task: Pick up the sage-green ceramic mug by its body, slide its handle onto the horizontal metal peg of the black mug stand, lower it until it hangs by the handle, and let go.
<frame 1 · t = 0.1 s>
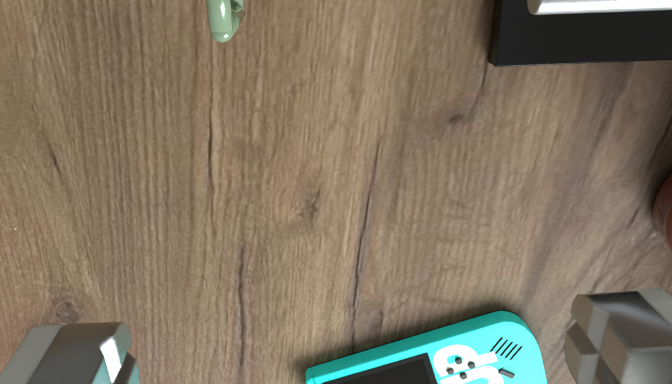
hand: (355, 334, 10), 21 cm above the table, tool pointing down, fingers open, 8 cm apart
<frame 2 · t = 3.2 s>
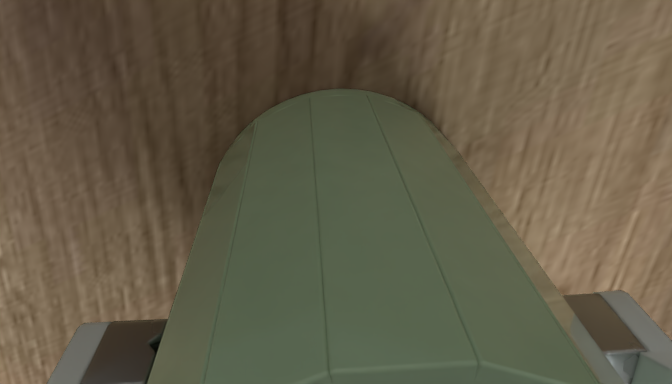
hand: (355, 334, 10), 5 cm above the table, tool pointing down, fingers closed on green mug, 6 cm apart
green mug: (339, 212, 14), on the table, touching gripper
when the fingers open (13 cm above the table, at t = 10.5 s): green mug drops 1 cm and tips over, resting on mug stand.
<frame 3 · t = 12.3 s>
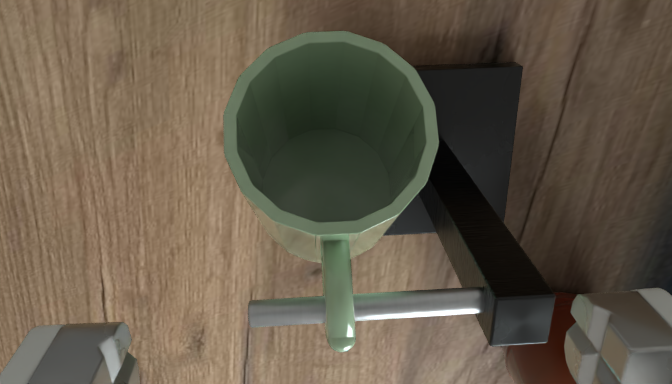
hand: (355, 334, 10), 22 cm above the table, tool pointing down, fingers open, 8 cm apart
mug stand: (422, 150, 32), on the table
green mug: (326, 192, 25), point 7 cm above the table, tilted 38°, touching mug stand
mug: (549, 341, 39), on the table
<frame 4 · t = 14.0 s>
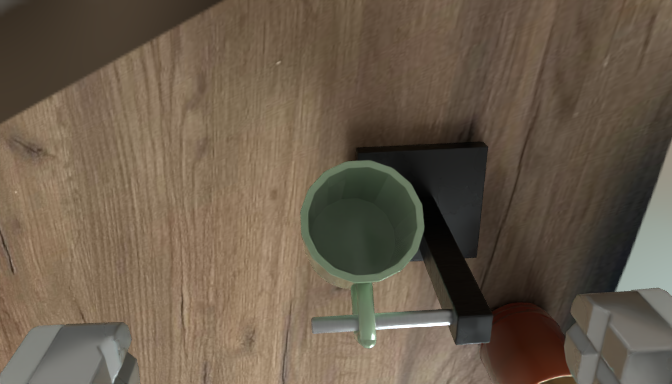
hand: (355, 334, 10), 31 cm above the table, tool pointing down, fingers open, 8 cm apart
mug stand: (417, 201, 44), on the table
green mug: (352, 241, 38), point 7 cm above the table, tilted 38°, touching mug stand
mug: (514, 338, 52), on the table
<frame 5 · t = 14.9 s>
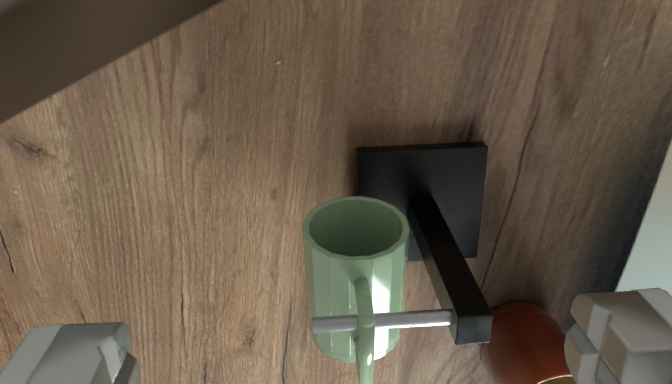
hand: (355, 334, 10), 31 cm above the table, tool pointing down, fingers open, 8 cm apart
mug stand: (417, 201, 44), on the table
green mug: (355, 325, 39), point 8 cm above the table, tilted 83°, touching mug stand
mug: (514, 338, 52), on the table
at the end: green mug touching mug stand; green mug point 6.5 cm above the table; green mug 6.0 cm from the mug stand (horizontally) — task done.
